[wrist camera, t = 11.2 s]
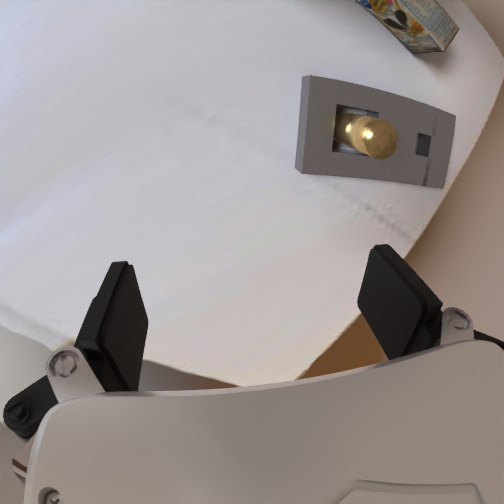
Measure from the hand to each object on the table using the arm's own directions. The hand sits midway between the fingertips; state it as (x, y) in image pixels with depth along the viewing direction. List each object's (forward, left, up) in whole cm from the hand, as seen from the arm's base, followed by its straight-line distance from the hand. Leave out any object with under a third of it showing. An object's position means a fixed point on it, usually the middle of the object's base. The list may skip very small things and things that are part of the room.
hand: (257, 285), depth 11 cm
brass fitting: (-4, +15, -26) cm, 31 cm away
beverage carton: (-20, +25, -28) cm, 42 cm away
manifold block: (-4, +21, -26) cm, 34 cm away
